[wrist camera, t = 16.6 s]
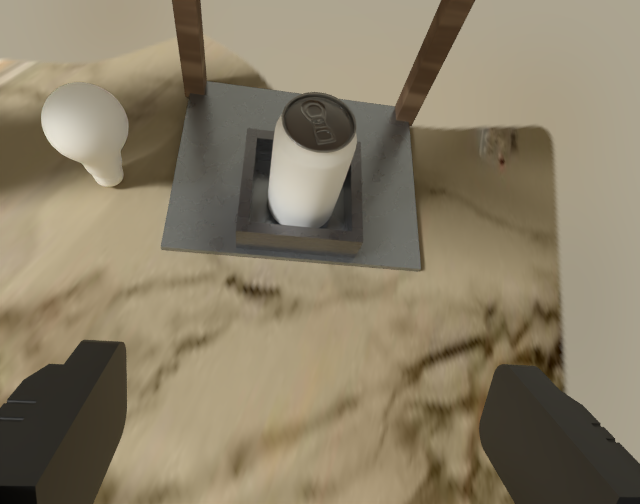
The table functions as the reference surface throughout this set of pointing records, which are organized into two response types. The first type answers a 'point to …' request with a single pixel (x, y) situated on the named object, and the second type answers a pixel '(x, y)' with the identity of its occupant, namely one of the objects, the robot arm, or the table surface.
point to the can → (310, 159)
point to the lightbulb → (87, 129)
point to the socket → (253, 181)
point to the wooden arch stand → (417, 84)
